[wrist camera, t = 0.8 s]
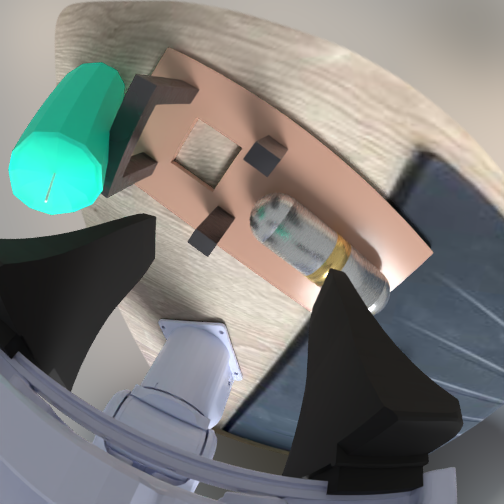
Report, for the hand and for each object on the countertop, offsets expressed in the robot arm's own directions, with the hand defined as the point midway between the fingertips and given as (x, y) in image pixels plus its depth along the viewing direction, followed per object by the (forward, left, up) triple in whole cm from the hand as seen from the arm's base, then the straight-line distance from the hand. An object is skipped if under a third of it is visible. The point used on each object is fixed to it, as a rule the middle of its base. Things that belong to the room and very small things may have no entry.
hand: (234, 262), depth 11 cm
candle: (+11, +12, -8) cm, 19 cm away
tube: (-4, -3, -9) cm, 11 cm away
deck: (0, 0, -10) cm, 10 cm away
